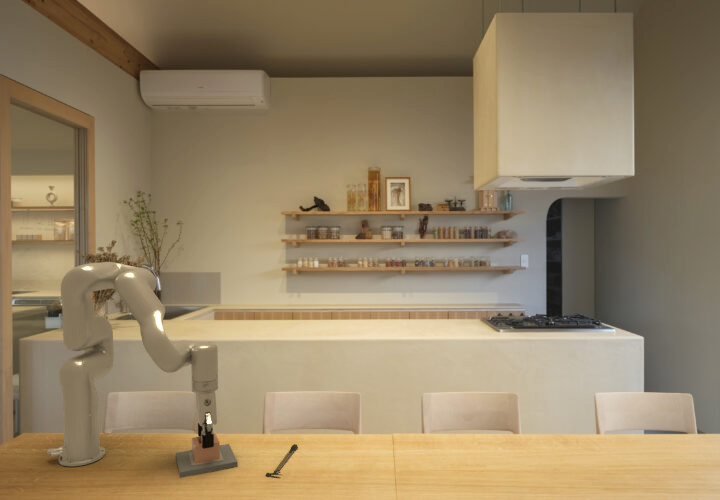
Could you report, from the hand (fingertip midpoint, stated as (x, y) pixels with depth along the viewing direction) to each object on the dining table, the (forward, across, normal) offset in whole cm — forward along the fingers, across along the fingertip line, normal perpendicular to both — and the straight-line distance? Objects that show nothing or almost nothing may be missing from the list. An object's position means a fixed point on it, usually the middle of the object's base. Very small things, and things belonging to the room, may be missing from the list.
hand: (205, 441), depth 153 cm
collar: (+5, 0, 0) cm, 5 cm away
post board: (+6, 0, 0) cm, 6 cm away
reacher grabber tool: (+7, -10, -22) cm, 26 cm away
